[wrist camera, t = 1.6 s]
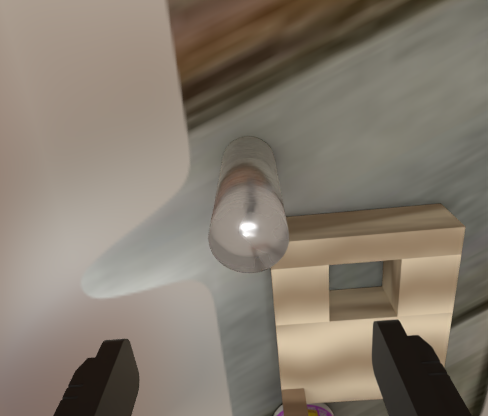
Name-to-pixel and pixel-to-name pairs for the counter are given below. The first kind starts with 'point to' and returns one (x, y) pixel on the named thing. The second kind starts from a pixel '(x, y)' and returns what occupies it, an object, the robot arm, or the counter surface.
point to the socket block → (360, 296)
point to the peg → (248, 209)
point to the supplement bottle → (311, 410)
